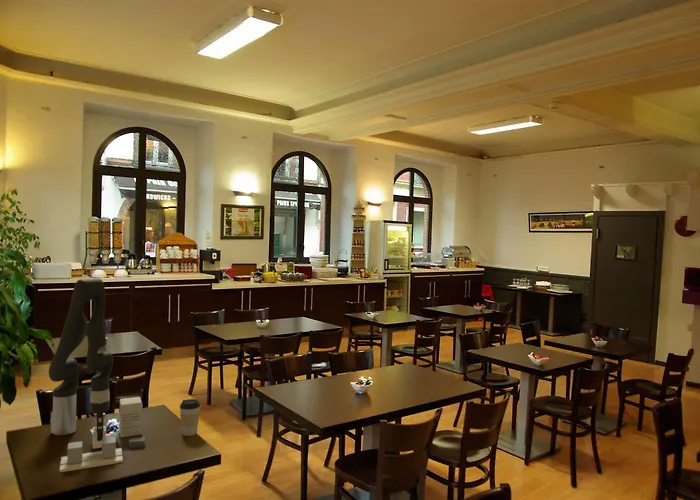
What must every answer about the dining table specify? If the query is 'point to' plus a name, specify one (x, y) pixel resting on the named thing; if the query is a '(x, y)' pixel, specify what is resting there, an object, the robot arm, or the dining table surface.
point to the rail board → (91, 456)
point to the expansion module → (96, 443)
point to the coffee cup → (189, 416)
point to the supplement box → (130, 416)
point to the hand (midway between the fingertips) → (100, 436)
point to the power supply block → (137, 442)
